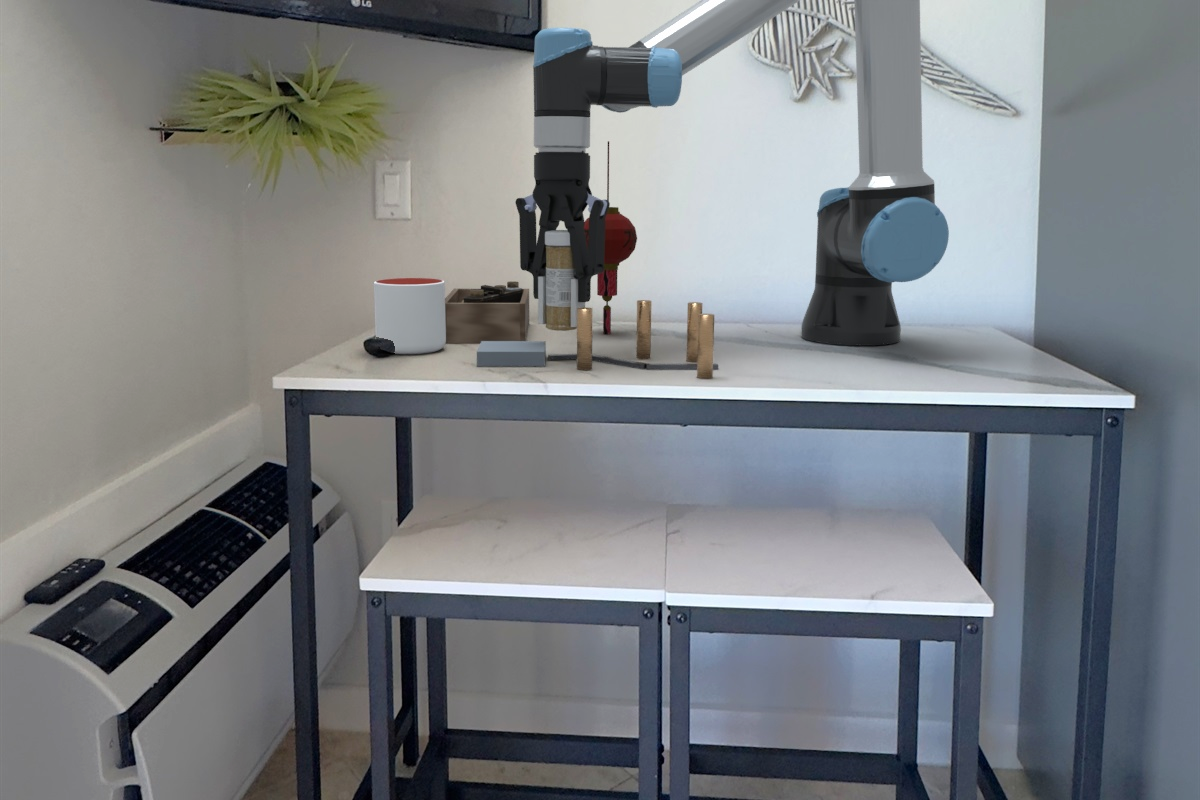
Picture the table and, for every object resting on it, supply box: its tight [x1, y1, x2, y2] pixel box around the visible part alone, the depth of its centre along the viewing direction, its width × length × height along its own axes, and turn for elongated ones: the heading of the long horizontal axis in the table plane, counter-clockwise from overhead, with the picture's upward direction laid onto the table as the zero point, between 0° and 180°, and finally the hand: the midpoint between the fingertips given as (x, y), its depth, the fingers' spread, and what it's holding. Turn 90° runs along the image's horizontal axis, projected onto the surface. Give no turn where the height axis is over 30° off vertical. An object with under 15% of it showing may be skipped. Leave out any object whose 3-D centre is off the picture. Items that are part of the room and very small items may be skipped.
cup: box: [373, 277, 447, 355], centre depth 157 cm, size 10×10×10 cm
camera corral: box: [445, 288, 530, 344], centre depth 174 cm, size 13×21×6 cm, turn 2°
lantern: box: [584, 140, 638, 335], centre depth 172 cm, size 10×10×30 cm
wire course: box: [547, 299, 719, 380], centre depth 145 cm, size 23×16×8 cm
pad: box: [476, 340, 547, 368], centre depth 150 cm, size 9×9×2 cm
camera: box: [462, 281, 524, 303], centre depth 173 cm, size 16×7×8 cm, turn 159°
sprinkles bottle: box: [545, 229, 577, 332], centre depth 149 cm, size 5×5×14 cm
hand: (561, 324), depth 150 cm, fingers closed on sprinkles bottle, 4 cm apart
